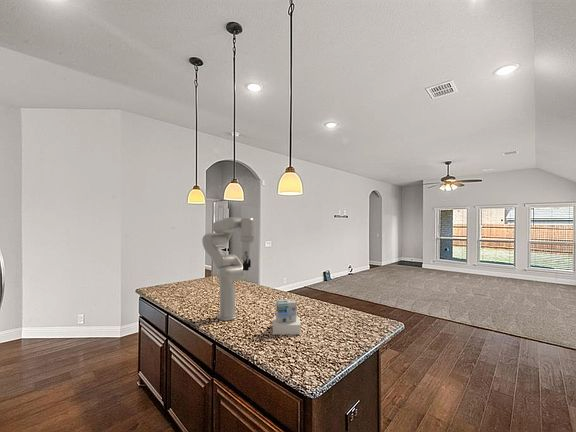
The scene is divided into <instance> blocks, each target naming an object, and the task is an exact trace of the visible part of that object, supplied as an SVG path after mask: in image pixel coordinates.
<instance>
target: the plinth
mask: <svg viewBox="0 0 576 432" xmlns="http://www.w3.org/2000/svg"><path fill="white" fill-rule="evenodd" d="M300 319H301V318H300V316H296V322H283V323H278V321H277V319H276V316H273V321H272V335H301V320H300Z"/></svg>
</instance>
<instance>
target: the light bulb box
mask: <svg viewBox="0 0 576 432" xmlns="http://www.w3.org/2000/svg"><path fill="white" fill-rule="evenodd" d="M275 305H276V314H275V315H276V316H275V317H276V319H277V321H278V323H283V322H296V317H297V301H296V300H295V299H293V298H291V299H278V300H276V304H275Z"/></svg>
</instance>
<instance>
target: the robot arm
mask: <svg viewBox="0 0 576 432" xmlns="http://www.w3.org/2000/svg"><path fill="white" fill-rule="evenodd" d="M254 226H255V223H254V218H253V217H242V216H241V217H237V216H236V217H231V216H230V217H225V218H223V219H220V220H216V221H214V222H213V223H212V225H211V228H212V232H209V233H206V234H204V235H203V237H202V239H201V241H202V247H203V249H204V251H205V252H206V253H207V254H208V255H209V257H210V259H211V260H212V262H213V264H214V266H215V268H216V269H217V270H219V271H218V280H219V281H218V282H219V313H218V314H217V317H216V318H217V320H219V321H231V320H234V319H237V318H238V316H239V315H238V313H237V312H236V287H235V285H234V284H233V282H237V281H238V282H239V281H242V280H244V279H245V278H246V275H247V271H249V270H250V269H249V268H251V266H252V265H251V264H252V262H251V259H252V252H253V251H252V250H253V249H252V246H253V244H252V243H253V242H254V237H255V236H254V235H255V234H254V233H255V232H254V229H255V228H254ZM234 231H240V238H239V239H240V243H241V249H240V250H241V252H240V253H241V255H240V259H241V260H242V261H241V260H240V259H239V257H238V256H237V255H235V254H233V253H231V254H225V252H223V250H222V249H221V247H218V246H225V245H226V244H227V245H228V243H229V241H230V239H231V237H232V236H233V233H234Z"/></svg>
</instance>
